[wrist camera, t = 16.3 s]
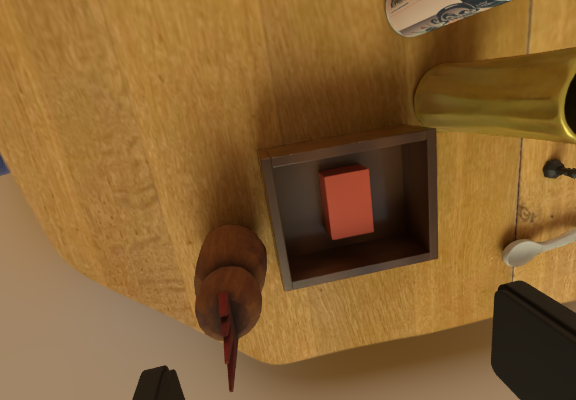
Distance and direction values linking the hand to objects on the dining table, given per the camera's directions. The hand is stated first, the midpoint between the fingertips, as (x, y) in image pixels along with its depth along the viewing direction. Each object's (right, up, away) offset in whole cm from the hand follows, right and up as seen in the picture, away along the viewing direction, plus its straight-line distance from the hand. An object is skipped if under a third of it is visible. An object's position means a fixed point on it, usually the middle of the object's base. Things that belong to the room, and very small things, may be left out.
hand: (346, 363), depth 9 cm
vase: (+13, +14, +21) cm, 29 cm away
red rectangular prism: (+3, +5, +22) cm, 23 cm away
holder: (+3, +5, +23) cm, 23 cm away
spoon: (+27, 0, +28) cm, 39 cm away
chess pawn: (+26, +8, +25) cm, 37 cm away
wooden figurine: (-7, 0, +23) cm, 24 cm away
